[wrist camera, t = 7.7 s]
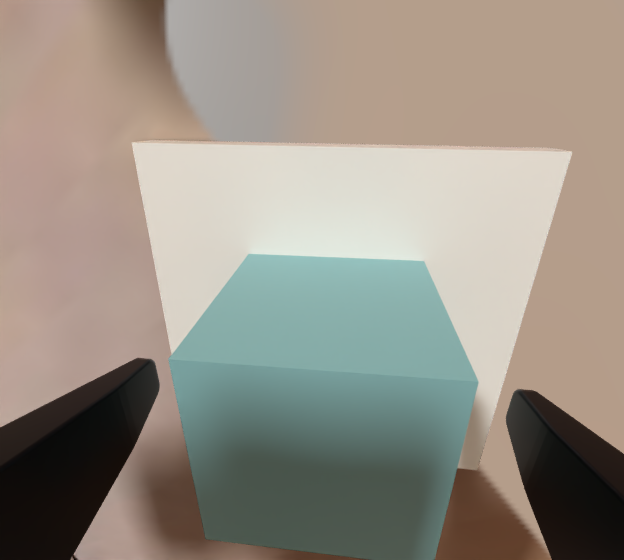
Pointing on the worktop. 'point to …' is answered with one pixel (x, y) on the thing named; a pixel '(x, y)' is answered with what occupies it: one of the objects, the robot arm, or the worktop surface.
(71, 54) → the worktop surface
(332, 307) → the teal cube
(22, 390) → the worktop surface
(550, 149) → the coaster
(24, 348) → the worktop surface
